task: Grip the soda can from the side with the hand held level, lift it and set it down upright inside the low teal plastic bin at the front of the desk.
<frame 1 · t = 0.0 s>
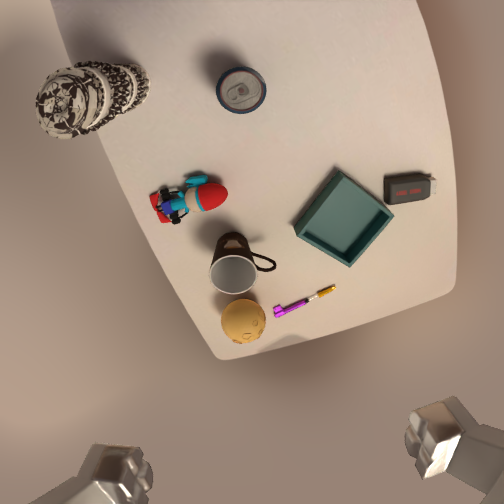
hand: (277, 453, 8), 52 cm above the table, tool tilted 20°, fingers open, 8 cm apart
decorative candle: (128, 86, 46), on the table
coffee mug: (239, 248, 65), on the table
bin: (342, 217, 63), on the table
usb drive: (408, 186, 60), on the table
purple orange rod tool: (302, 297, 74), on the table
stress ball: (242, 305, 74), on the table
soda can: (239, 86, 48), on the table
toy figure: (190, 196, 59), on the table
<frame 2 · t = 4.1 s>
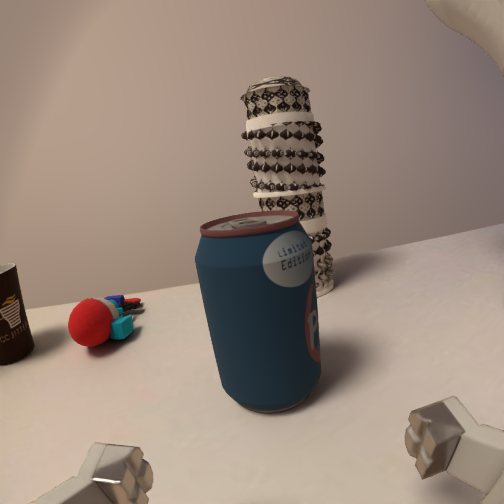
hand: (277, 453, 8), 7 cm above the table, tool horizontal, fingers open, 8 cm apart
decorative candle: (300, 288, 39), on the table
coffee mug: (4, 358, 27), on the table
soda can: (272, 388, 21), on the table
toy figure: (109, 330, 34), on the table
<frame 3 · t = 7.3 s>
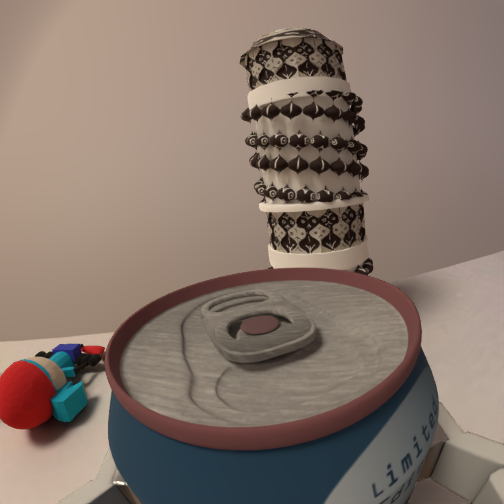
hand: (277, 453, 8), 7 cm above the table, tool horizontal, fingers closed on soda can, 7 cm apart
decorative candle: (324, 340, 27), on the table
toy figure: (59, 395, 21), on the table
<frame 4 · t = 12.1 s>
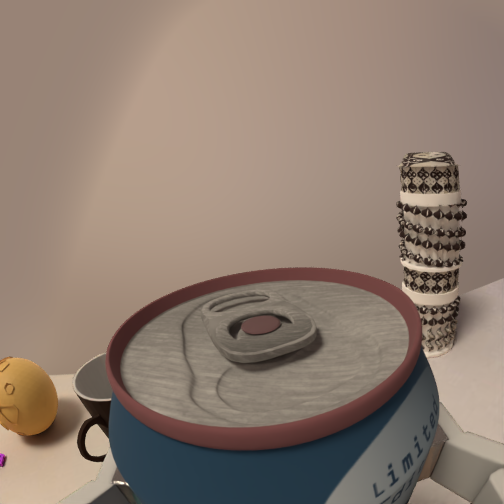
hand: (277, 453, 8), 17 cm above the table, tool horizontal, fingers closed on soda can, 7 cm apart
decorative candle: (425, 342, 38), on the table
coffee mug: (139, 453, 26), on the table
stress ball: (39, 427, 29), on the table
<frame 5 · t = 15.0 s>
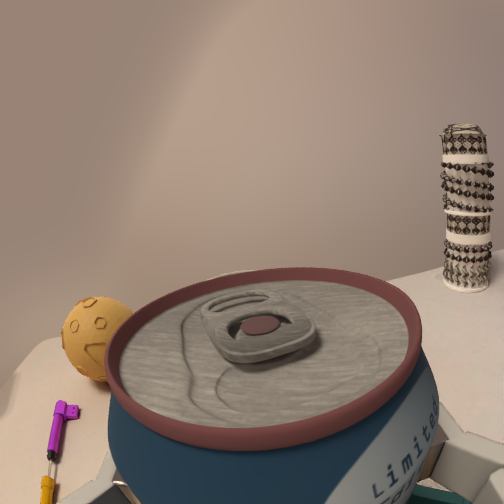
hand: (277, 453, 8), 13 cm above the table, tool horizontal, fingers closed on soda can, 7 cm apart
decorative candle: (466, 283, 43), on the table
purple orange rod tool: (63, 457, 20), on the table
stress ball: (116, 375, 34), on the table
when the fingers open (8 cm above the table, at t = 17.1 s): soda can stays where it is, resting on bin.
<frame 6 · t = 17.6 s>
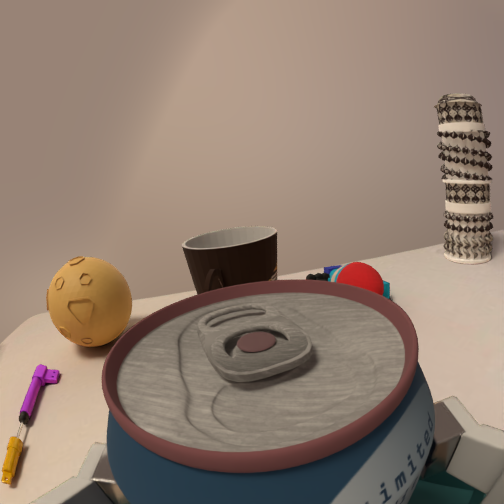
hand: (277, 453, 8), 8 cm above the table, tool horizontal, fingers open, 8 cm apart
decorative candle: (467, 257, 42), on the table
coffee mug: (236, 343, 30), on the table
purple orange rod tool: (36, 421, 19), on the table
stress ball: (102, 343, 32), on the table
toy figure: (347, 297, 36), on the table
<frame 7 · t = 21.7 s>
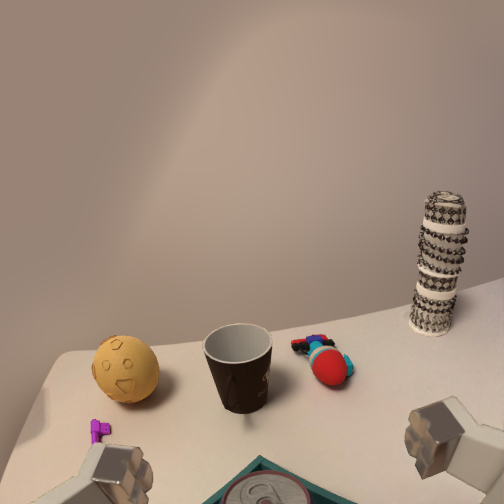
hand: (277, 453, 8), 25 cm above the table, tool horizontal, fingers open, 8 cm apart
decorative candle: (429, 325, 53), on the table
coffee mug: (237, 404, 40), on the table
purple orange rod tool: (104, 466, 29), on the table
stress ball: (135, 394, 42), on the table
toy figure: (321, 365, 47), on the table
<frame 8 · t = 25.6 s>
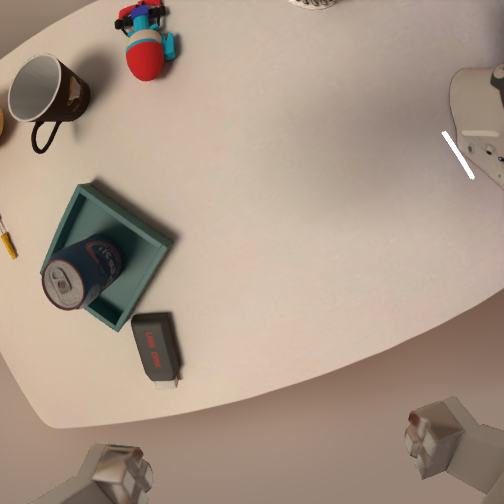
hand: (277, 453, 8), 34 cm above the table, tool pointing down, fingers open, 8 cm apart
coffee mug: (67, 110, 36), on the table
bin: (105, 255, 41), on the table
usb drive: (160, 349, 45), on the table
purple orange rod tool: (0, 213, 39), on the table
soda can: (105, 256, 41), resting on bin
toy figure: (147, 41, 34), on the table
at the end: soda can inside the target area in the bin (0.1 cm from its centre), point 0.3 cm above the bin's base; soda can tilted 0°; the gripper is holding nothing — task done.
